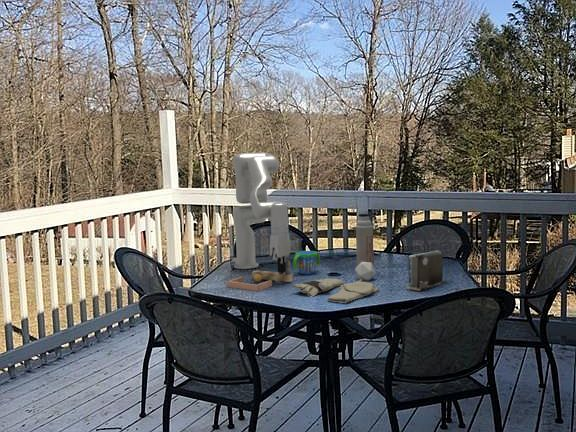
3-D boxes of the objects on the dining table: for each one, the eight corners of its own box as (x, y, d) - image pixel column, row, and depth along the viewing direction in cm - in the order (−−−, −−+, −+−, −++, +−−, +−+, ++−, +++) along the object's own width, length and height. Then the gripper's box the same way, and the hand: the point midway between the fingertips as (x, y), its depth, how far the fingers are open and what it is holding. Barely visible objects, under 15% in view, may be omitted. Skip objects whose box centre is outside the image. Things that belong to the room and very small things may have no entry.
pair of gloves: (289, 294, 236) (288, 282, 235) (329, 282, 254) (329, 271, 253) (345, 306, 215) (345, 292, 214) (385, 292, 233) (385, 280, 232)
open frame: (227, 287, 251) (226, 281, 251) (241, 282, 260) (241, 276, 260) (257, 291, 242) (257, 285, 241) (272, 285, 250) (271, 280, 250)
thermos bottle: (377, 273, 267) (376, 213, 264) (363, 275, 263) (361, 215, 260) (367, 270, 274) (366, 212, 271) (353, 272, 270) (352, 214, 267)
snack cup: (313, 269, 282) (313, 248, 280) (326, 272, 273) (326, 251, 272) (287, 274, 273) (286, 253, 272) (299, 277, 264) (299, 256, 263)
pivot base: (272, 282, 256) (272, 281, 256) (279, 279, 261) (279, 279, 261) (283, 283, 253) (283, 283, 253) (290, 281, 258) (290, 280, 258)
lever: (252, 277, 264) (251, 258, 263) (256, 276, 266) (255, 257, 265) (289, 281, 253) (288, 261, 252) (292, 280, 256) (291, 260, 255)
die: (379, 280, 256) (371, 261, 260) (375, 274, 249) (368, 255, 253) (362, 286, 257) (355, 267, 262) (358, 281, 250) (351, 261, 254)
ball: (252, 282, 259) (252, 274, 258) (257, 280, 262) (256, 272, 261) (258, 283, 257) (258, 275, 256) (263, 281, 260) (263, 273, 259)
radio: (435, 279, 251) (435, 246, 249) (452, 282, 244) (452, 248, 243) (402, 289, 236) (401, 253, 234) (419, 292, 230) (418, 256, 228)
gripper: (282, 228, 258) (284, 268, 260) (262, 232, 246) (264, 274, 248) (296, 229, 254) (298, 269, 256) (276, 233, 242) (278, 276, 243)
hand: (281, 271), depth 252 cm, fingers closed
